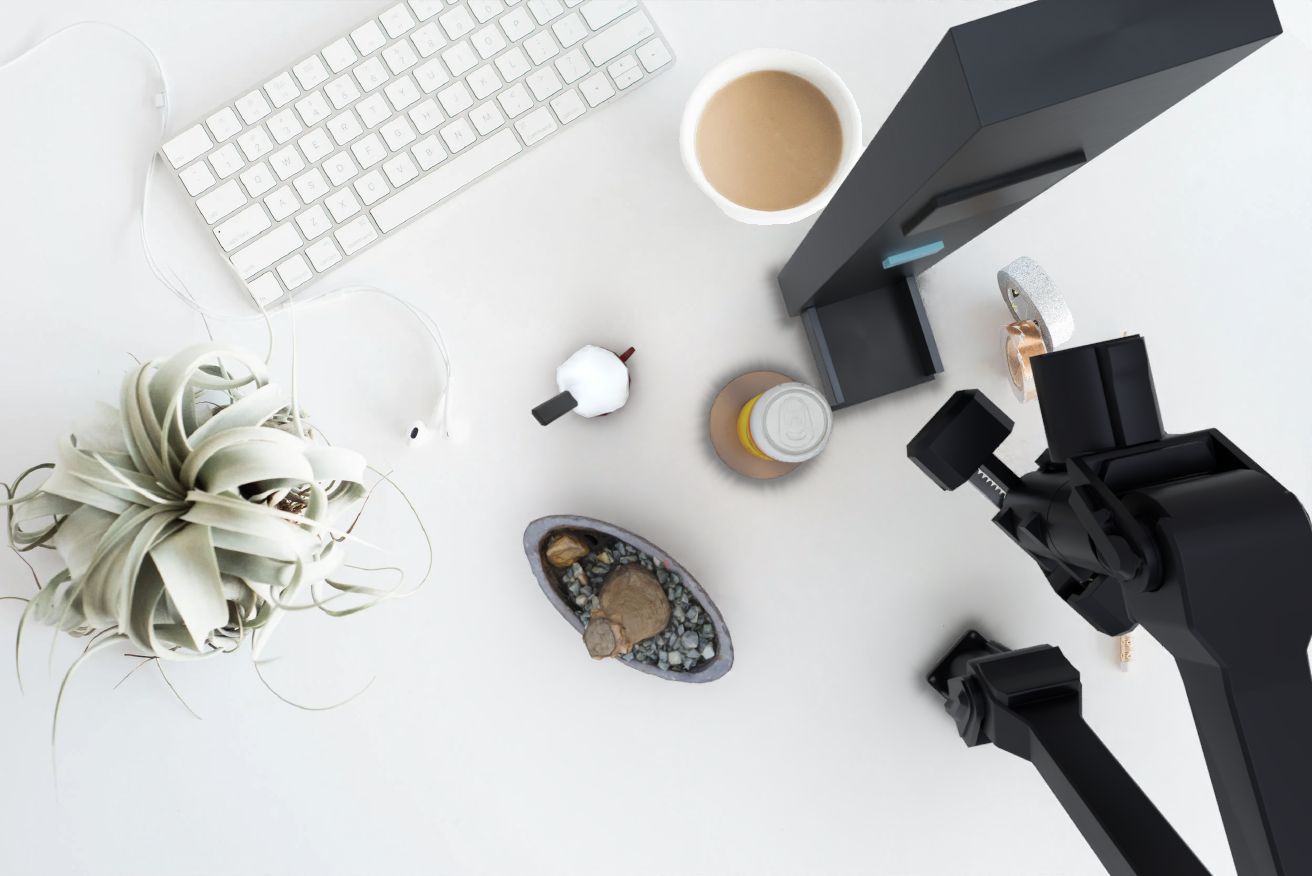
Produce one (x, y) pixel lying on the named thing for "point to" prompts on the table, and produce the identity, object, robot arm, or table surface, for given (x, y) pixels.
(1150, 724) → the table surface
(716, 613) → the planter
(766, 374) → the cork coaster
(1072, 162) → the dispenser
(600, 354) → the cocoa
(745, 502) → the table surface
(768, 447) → the beer can
